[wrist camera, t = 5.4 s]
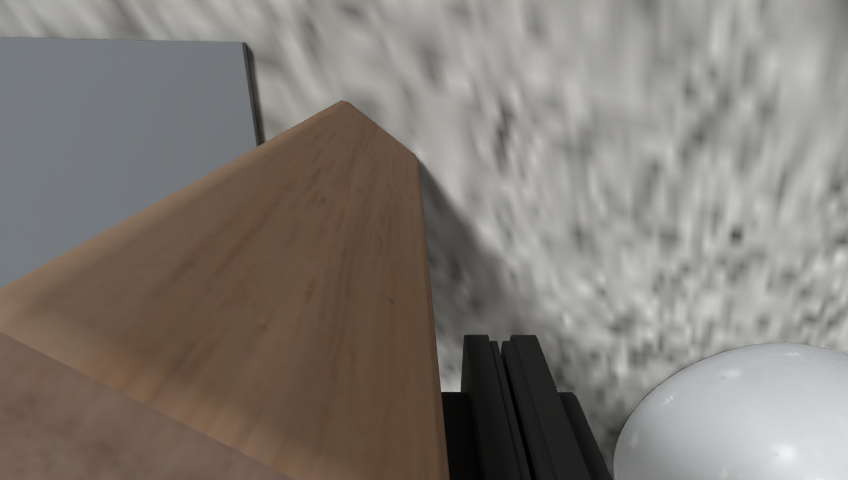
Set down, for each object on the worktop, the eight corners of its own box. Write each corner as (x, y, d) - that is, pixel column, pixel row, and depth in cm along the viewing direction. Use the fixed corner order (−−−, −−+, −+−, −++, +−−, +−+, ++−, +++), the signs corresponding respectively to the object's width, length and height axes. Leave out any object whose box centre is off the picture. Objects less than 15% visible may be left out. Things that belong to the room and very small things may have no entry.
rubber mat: (245, 42, 18) (241, 42, 18) (284, 317, 24) (282, 321, 24) (-263, 31, 18) (-277, 31, 18) (-97, 311, 24) (-105, 316, 24)
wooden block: (315, 292, 23) (66, 899, 6) (239, 243, 22) (-312, 828, 5) (421, 158, 20) (477, 573, 4) (342, 95, 19) (-75, 298, 3)
